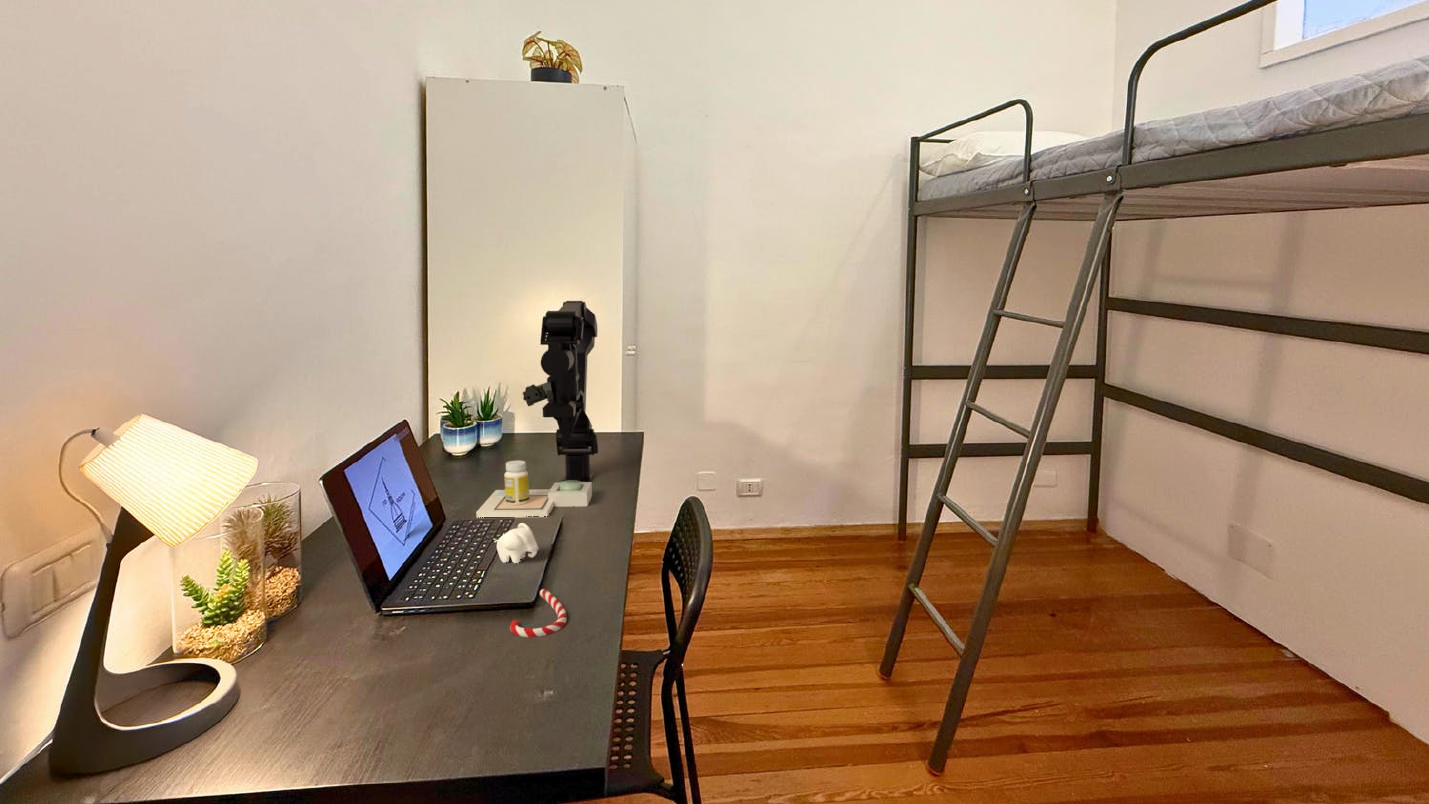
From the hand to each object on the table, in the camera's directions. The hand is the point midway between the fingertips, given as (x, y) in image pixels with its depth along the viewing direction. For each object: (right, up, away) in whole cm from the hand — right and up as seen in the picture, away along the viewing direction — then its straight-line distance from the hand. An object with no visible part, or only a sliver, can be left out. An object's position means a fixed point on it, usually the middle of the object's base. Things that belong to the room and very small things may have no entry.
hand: (566, 442), depth 174 cm
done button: (+1, -11, -1) cm, 11 cm away
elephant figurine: (-2, -19, -35) cm, 40 cm away
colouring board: (-9, -13, -4) cm, 16 cm away
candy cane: (+6, -22, -56) cm, 61 cm away
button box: (+1, -12, -1) cm, 12 cm away
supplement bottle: (-9, -12, -6) cm, 16 cm away
